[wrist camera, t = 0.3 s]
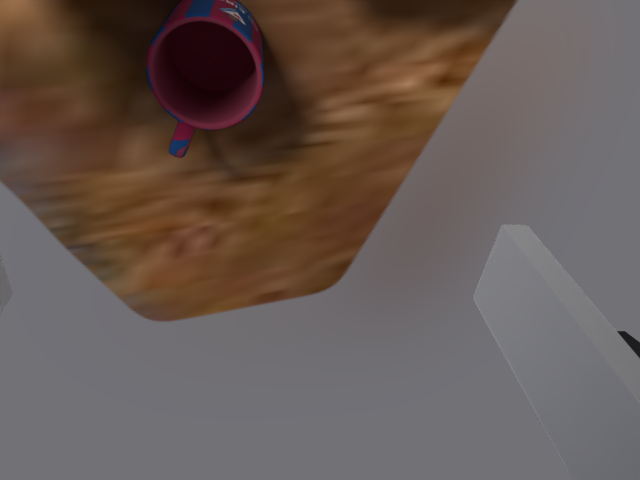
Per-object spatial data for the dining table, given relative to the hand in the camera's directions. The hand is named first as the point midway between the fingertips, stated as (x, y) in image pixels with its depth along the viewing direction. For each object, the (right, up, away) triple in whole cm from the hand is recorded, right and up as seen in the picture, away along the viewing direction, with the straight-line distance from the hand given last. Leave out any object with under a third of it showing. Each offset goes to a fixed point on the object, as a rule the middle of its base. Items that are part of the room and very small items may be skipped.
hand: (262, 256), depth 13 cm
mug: (-7, +13, +21) cm, 26 cm away
